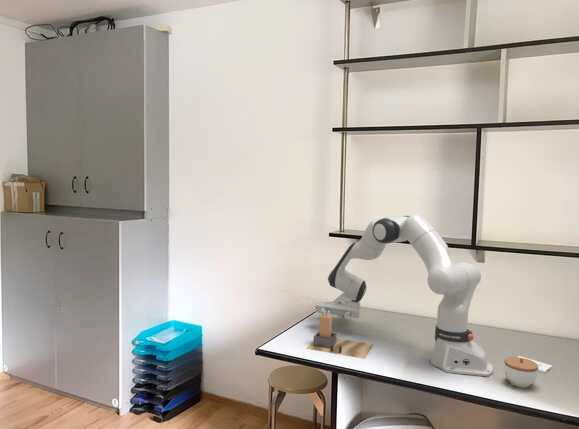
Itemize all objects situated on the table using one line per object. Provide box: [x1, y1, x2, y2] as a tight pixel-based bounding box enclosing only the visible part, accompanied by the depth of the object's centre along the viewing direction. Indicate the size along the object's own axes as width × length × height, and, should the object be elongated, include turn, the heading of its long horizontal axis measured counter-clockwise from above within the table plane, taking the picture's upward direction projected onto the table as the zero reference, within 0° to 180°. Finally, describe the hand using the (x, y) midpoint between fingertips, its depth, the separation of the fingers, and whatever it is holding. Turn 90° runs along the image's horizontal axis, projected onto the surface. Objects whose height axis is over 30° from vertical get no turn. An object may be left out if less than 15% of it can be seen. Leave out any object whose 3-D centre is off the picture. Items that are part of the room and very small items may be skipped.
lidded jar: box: [503, 356, 538, 389], centre depth 170 cm, size 11×11×9 cm
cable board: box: [305, 338, 375, 360], centre depth 199 cm, size 24×17×3 cm
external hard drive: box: [517, 355, 554, 374], centre depth 187 cm, size 2×8×12 cm
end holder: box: [312, 331, 338, 349], centre depth 200 cm, size 8×8×4 cm
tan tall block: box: [318, 310, 333, 338], centre depth 200 cm, size 4×4×14 cm
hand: (333, 314), depth 210 cm, fingers open, 8 cm apart
